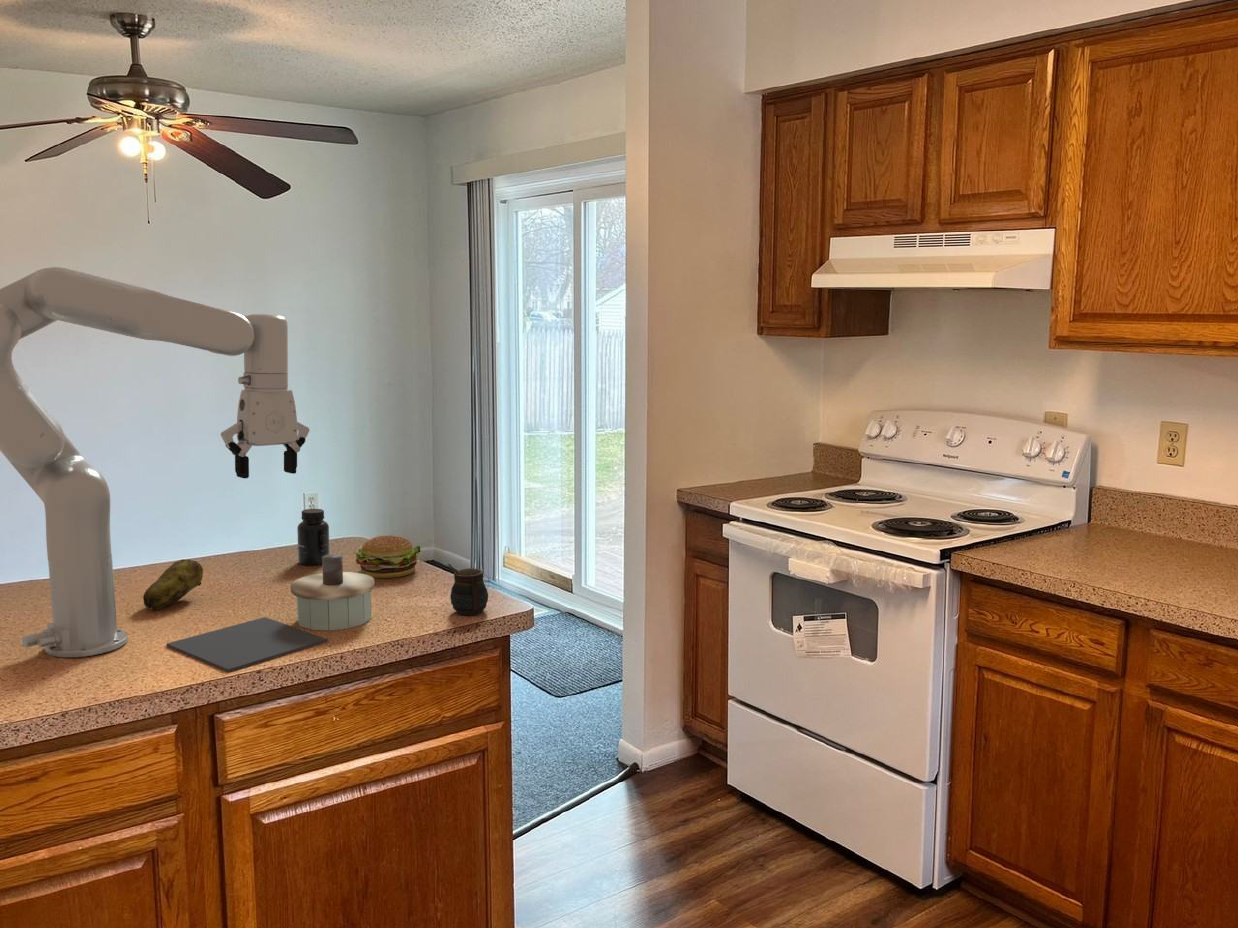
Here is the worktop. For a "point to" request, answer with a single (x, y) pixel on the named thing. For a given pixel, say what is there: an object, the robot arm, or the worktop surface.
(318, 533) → the supplement bottle
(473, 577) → the mate gourd
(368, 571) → the food
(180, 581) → the potato
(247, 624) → the mat
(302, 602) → the bowl
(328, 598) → the lid
